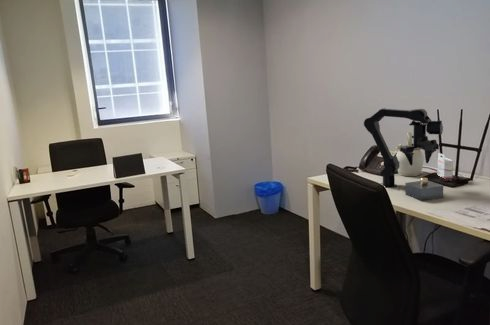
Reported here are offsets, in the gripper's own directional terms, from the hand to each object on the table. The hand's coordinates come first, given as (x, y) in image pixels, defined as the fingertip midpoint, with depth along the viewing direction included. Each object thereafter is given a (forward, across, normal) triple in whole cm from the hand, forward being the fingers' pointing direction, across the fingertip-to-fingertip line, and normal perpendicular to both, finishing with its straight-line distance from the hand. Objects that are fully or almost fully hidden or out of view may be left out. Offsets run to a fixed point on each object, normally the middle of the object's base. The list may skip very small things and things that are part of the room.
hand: (419, 164), depth 201 cm
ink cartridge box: (+13, +22, +8) cm, 27 cm away
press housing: (+13, -6, -12) cm, 19 cm away
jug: (+13, +14, +28) cm, 34 cm away
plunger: (+12, -6, -12) cm, 18 cm away
